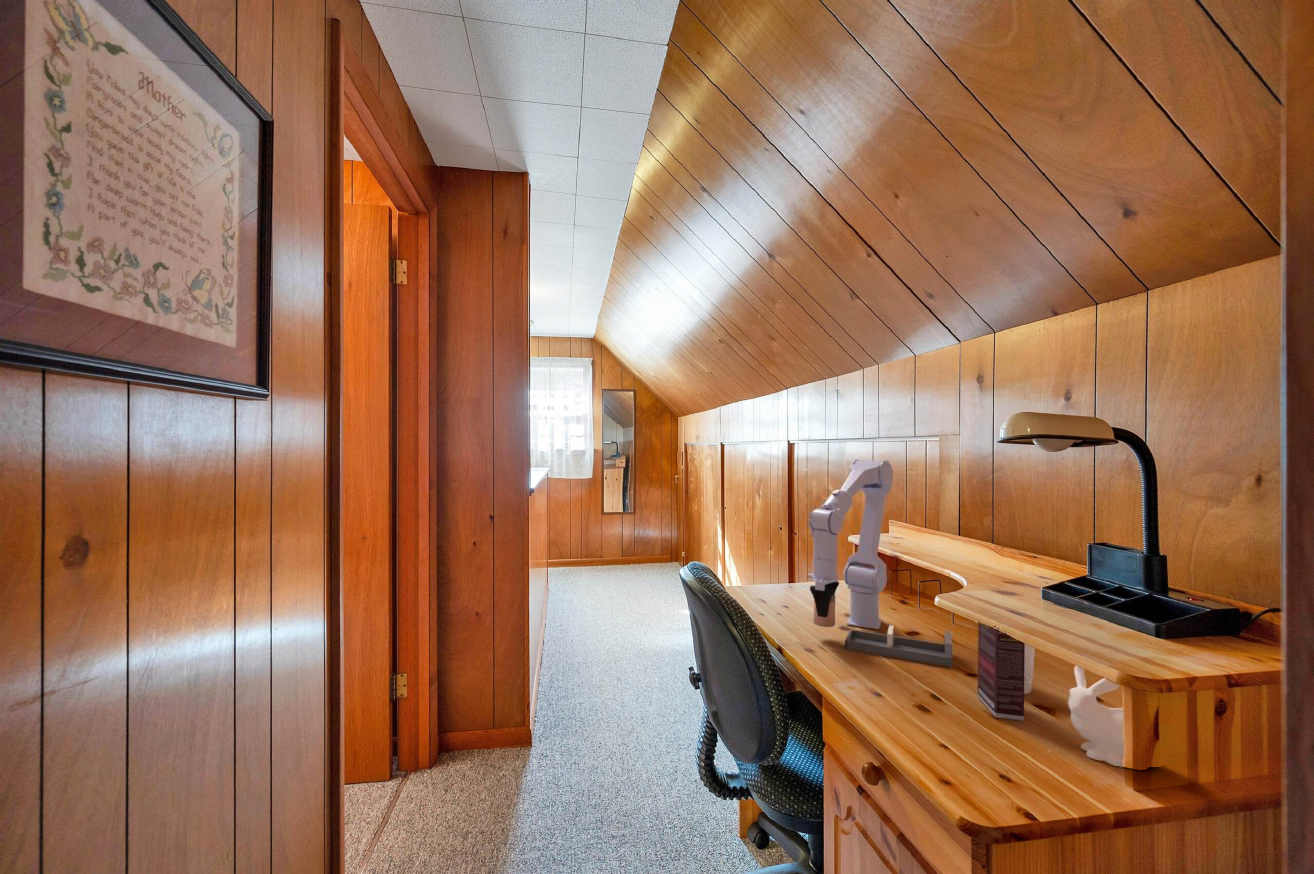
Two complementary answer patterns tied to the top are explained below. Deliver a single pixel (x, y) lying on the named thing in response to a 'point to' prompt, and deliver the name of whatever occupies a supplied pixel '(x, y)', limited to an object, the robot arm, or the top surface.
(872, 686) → the top surface
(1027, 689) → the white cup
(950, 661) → the tray
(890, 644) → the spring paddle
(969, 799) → the top surface
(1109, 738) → the rabbit
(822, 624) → the jar
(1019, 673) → the supplement box
